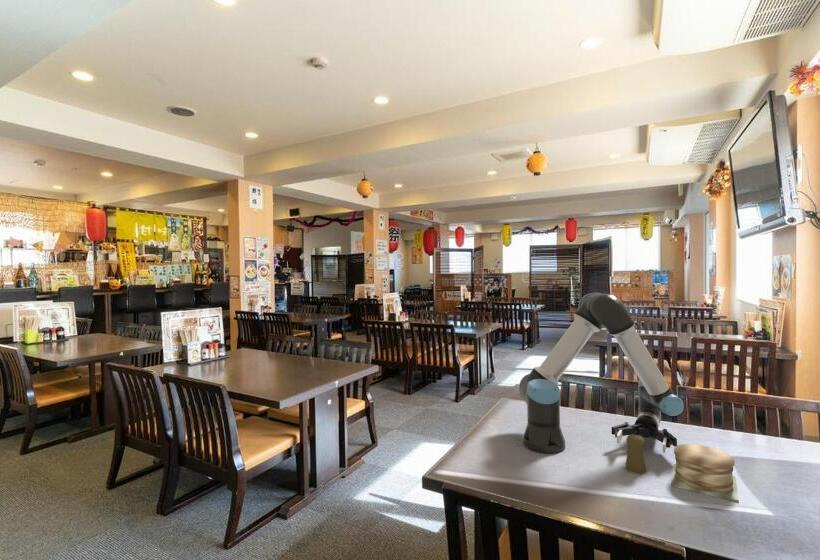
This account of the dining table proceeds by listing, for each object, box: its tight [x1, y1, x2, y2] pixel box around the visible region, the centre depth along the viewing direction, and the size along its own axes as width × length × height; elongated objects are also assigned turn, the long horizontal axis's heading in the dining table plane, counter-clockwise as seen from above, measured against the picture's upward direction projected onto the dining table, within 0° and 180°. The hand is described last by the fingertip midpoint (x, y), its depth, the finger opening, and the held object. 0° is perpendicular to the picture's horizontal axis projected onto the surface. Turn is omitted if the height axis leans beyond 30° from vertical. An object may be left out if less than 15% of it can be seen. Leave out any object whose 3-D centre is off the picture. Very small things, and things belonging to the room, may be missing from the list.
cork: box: [625, 435, 647, 475], centre depth 134 cm, size 6×6×11 cm
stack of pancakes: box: [670, 443, 740, 503], centre depth 125 cm, size 16×16×9 cm
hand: (640, 444), depth 139 cm, fingers open, 13 cm apart
